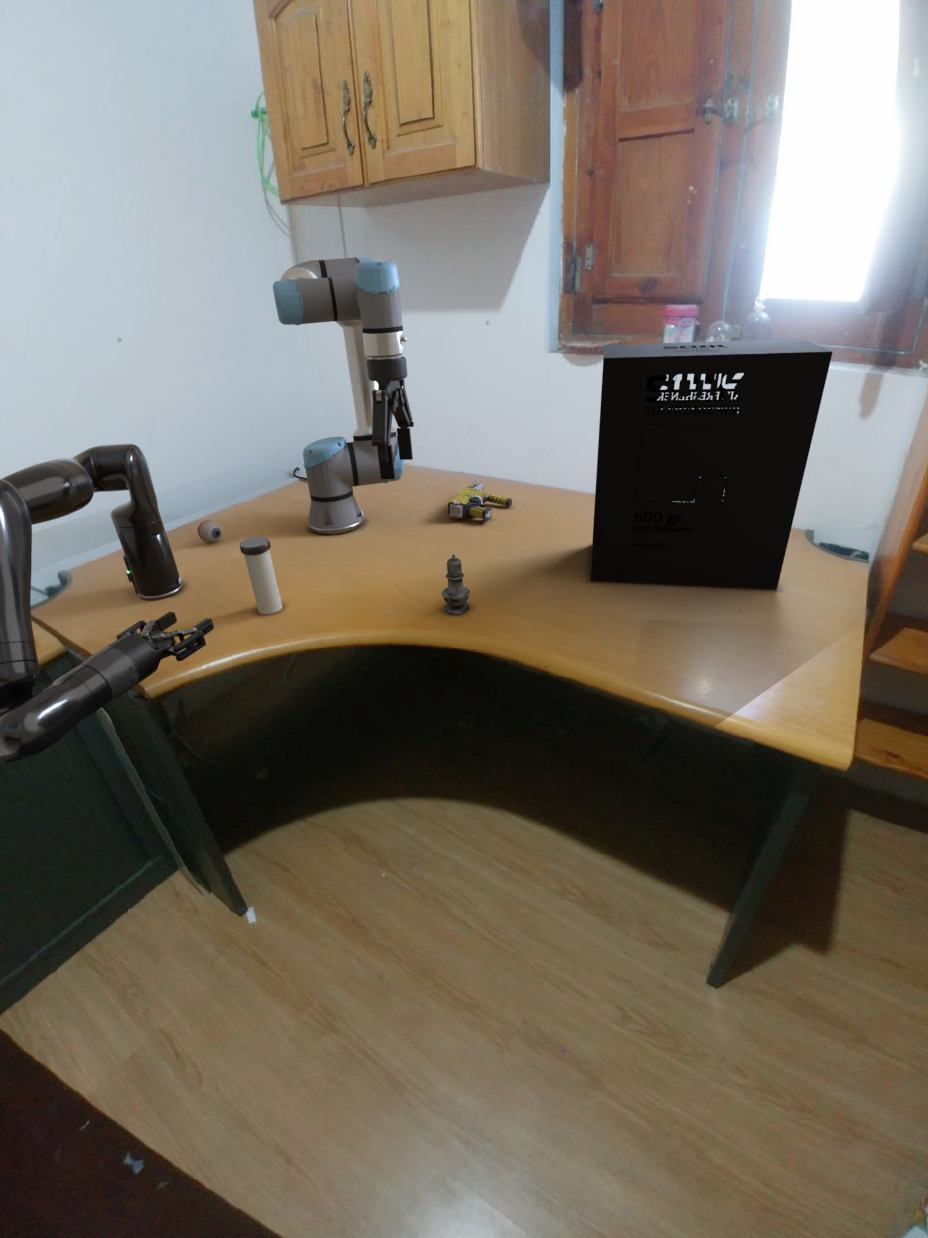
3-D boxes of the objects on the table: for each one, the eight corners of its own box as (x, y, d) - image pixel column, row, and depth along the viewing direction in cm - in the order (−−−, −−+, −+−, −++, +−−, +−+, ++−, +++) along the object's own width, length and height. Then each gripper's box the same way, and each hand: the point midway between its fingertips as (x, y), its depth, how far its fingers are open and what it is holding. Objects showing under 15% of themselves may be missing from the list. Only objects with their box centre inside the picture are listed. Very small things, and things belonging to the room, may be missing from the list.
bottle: (254, 613, 127) (237, 548, 119) (265, 602, 131) (250, 538, 123) (275, 615, 126) (259, 549, 118) (286, 603, 130) (271, 539, 122)
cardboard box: (756, 549, 141) (800, 338, 118) (776, 589, 124) (832, 351, 101) (592, 544, 148) (604, 344, 126) (590, 580, 131) (603, 357, 109)
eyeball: (211, 547, 159) (205, 526, 156) (196, 543, 162) (190, 522, 159) (229, 539, 163) (224, 518, 160) (214, 536, 166) (209, 515, 164)
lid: (235, 554, 120) (233, 547, 119) (250, 543, 124) (248, 535, 124) (261, 556, 118) (259, 548, 118) (275, 544, 123) (274, 536, 122)
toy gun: (520, 486, 181) (473, 479, 185) (498, 510, 161) (445, 501, 165) (519, 501, 183) (472, 494, 187) (496, 526, 163) (445, 518, 167)
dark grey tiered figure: (468, 615, 121) (465, 561, 115) (439, 614, 122) (435, 559, 116) (473, 601, 126) (471, 548, 120) (446, 600, 127) (442, 547, 121)
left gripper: (144, 655, 91) (218, 606, 104) (77, 641, 96) (156, 595, 109) (159, 695, 94) (229, 643, 107) (94, 679, 99) (168, 631, 112)
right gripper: (385, 366, 102) (398, 488, 113) (421, 347, 123) (429, 452, 134) (343, 367, 103) (360, 487, 114) (385, 349, 124) (396, 452, 135)
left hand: (192, 619), depth 108 cm, fingers open, 8 cm apart
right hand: (397, 468), depth 124 cm, fingers open, 13 cm apart
